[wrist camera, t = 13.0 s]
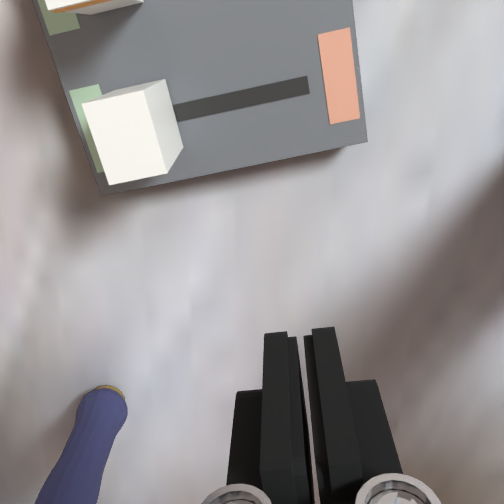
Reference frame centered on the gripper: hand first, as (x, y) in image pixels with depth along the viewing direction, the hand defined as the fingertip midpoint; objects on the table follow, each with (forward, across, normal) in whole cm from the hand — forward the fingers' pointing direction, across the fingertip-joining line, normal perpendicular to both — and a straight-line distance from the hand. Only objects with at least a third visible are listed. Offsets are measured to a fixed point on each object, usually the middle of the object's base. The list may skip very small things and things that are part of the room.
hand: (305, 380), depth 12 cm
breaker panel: (+23, +4, -8) cm, 25 cm away
